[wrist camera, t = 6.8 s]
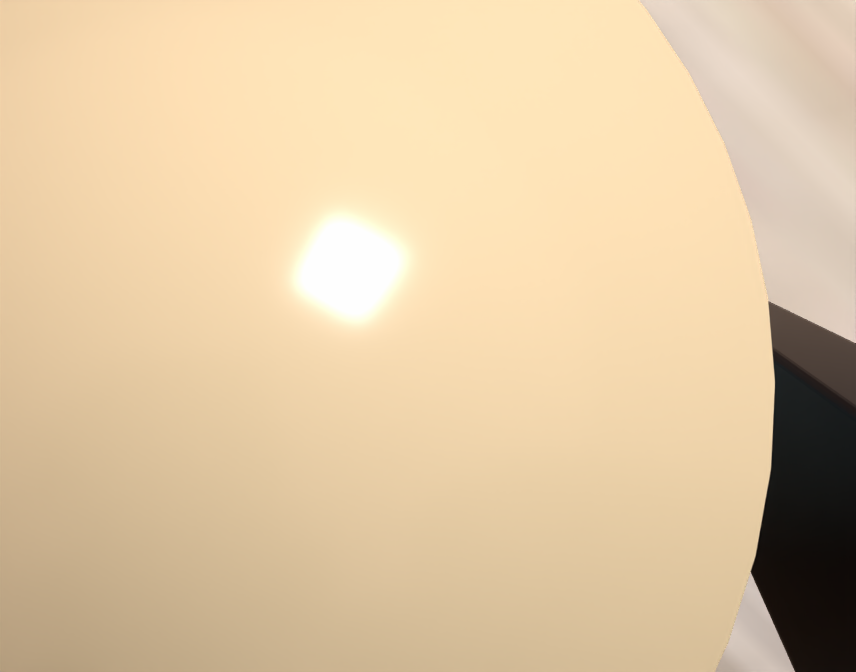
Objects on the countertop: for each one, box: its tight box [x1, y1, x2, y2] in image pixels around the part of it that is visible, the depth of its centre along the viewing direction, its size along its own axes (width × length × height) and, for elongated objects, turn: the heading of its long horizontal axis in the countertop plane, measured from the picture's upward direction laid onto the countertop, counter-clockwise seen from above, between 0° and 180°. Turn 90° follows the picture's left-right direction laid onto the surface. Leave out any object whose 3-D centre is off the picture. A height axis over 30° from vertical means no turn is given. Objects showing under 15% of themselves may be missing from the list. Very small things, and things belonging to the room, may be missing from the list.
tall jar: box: [0, 0, 775, 672], centre depth 10 cm, size 5×5×14 cm
